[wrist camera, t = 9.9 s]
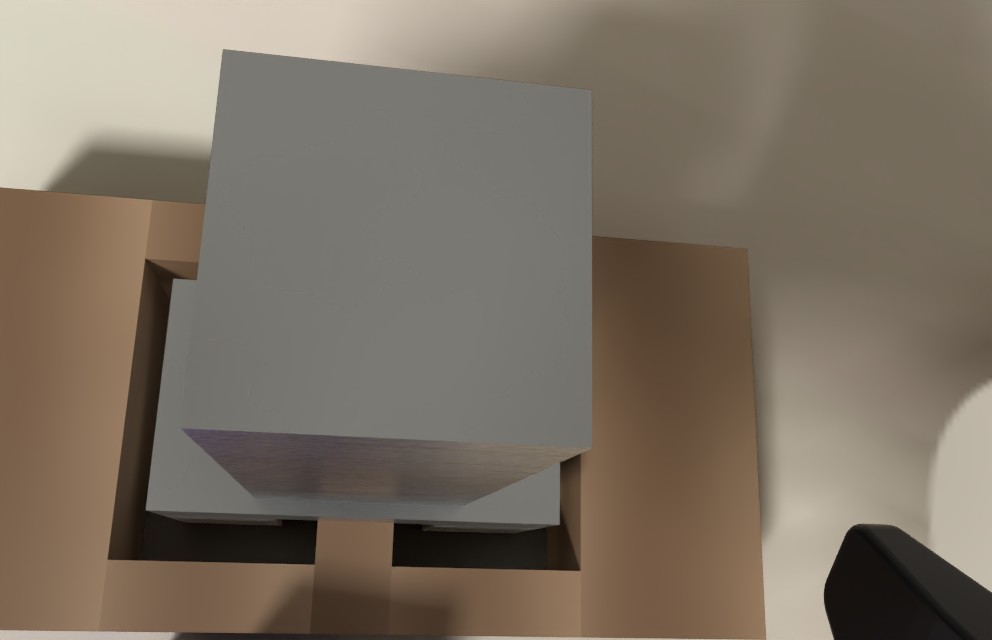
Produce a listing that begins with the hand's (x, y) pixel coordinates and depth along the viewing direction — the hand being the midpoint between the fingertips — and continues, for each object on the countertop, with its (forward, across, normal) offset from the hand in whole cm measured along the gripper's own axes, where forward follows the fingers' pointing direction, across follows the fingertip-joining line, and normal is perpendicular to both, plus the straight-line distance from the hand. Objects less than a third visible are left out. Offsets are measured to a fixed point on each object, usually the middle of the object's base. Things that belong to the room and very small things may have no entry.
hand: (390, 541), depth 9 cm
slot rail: (+10, 0, +7) cm, 12 cm away
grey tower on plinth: (+10, 0, +7) cm, 12 cm away
